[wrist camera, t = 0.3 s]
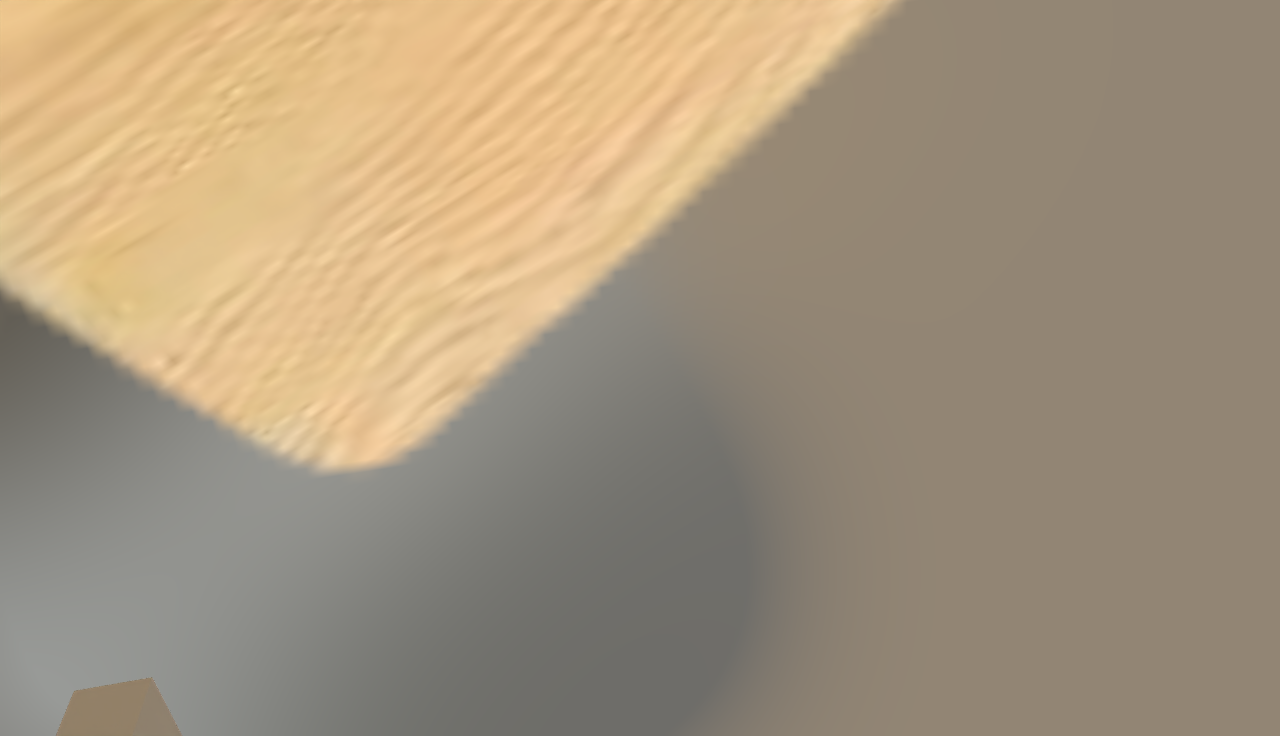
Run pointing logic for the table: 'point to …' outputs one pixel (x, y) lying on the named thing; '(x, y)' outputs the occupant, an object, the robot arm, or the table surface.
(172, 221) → the table surface
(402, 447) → the table surface
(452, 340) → the table surface
